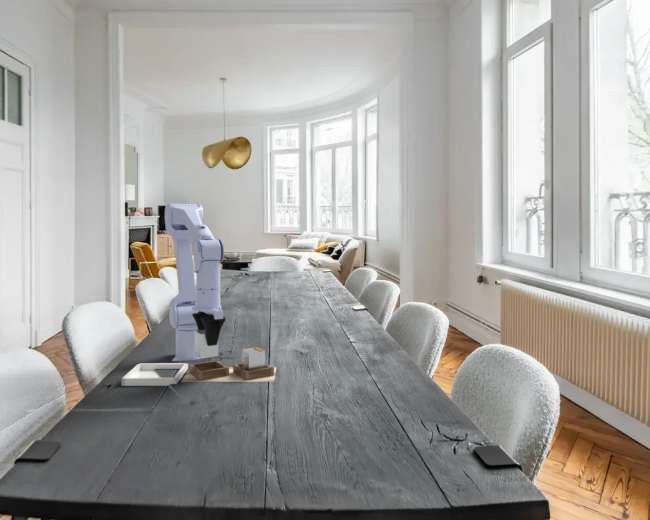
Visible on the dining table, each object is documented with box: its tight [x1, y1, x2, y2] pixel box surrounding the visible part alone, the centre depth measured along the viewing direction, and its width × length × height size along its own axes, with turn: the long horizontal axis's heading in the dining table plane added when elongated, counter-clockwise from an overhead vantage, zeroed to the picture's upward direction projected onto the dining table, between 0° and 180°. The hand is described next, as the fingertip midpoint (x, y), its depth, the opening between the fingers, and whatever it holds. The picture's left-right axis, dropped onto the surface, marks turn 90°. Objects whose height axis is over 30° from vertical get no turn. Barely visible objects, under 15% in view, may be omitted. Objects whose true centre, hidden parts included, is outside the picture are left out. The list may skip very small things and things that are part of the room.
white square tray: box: [120, 362, 189, 387], centre depth 122 cm, size 13×13×2 cm
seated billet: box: [241, 346, 266, 371], centre depth 124 cm, size 4×4×6 cm
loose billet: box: [194, 330, 219, 360], centre depth 123 cm, size 4×4×6 cm
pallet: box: [180, 359, 277, 383], centre depth 124 cm, size 12×22×3 cm, turn 93°
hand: (208, 343), depth 123 cm, fingers closed on loose billet, 4 cm apart
